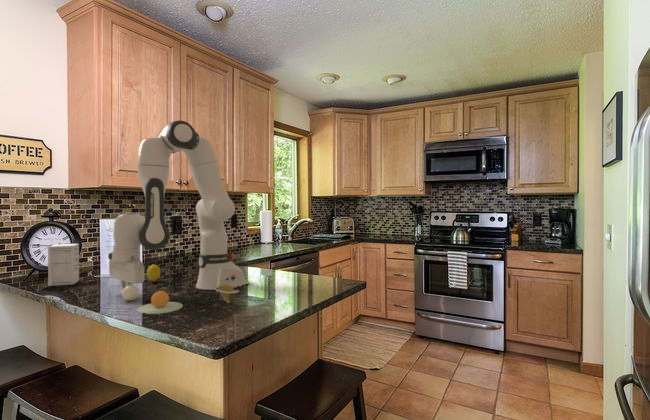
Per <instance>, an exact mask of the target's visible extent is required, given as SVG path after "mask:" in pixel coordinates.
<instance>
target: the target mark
mask: <svg viewBox="0 0 650 420" xmlns="http://www.w3.org/2000/svg"><path fill="white" fill-rule="evenodd" d="M183 307H184V306H183V303H180V302H177V301H168V303H167V304H166V305H165V306H164V307H159V308H158V307H155V306H153V304H152V303H147V304H143V305H141V306H138V307H137V309H136V312H137V313H140V314H143V313H145V315H160V314H169V313H172V312H176V311H178V310H180V309H182V308H183Z"/></svg>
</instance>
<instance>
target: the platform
mask: <svg viewBox="0 0 650 420" xmlns="http://www.w3.org/2000/svg"><path fill="white" fill-rule="evenodd" d="M215 292H219V299H218V300H219V301H221V300H222V302H225V303H227V304H228V303H229V304H232V303H231V302H234V303H233V304H236V293H240V290H239V289H234V286H231V285H225V284H222V285H219V287H217V288H216V290H215Z"/></svg>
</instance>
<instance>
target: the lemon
mask: <svg viewBox="0 0 650 420" xmlns="http://www.w3.org/2000/svg"><path fill="white" fill-rule="evenodd" d="M160 277H161V269H160V267H159V265H156V264H155V263H153V264H151V265H149V266H148V268H147V270H146V278H147V279H148V280H150V281H151V282H152V283H154V282H155V281H156V280H158V279H159V278H160Z"/></svg>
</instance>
